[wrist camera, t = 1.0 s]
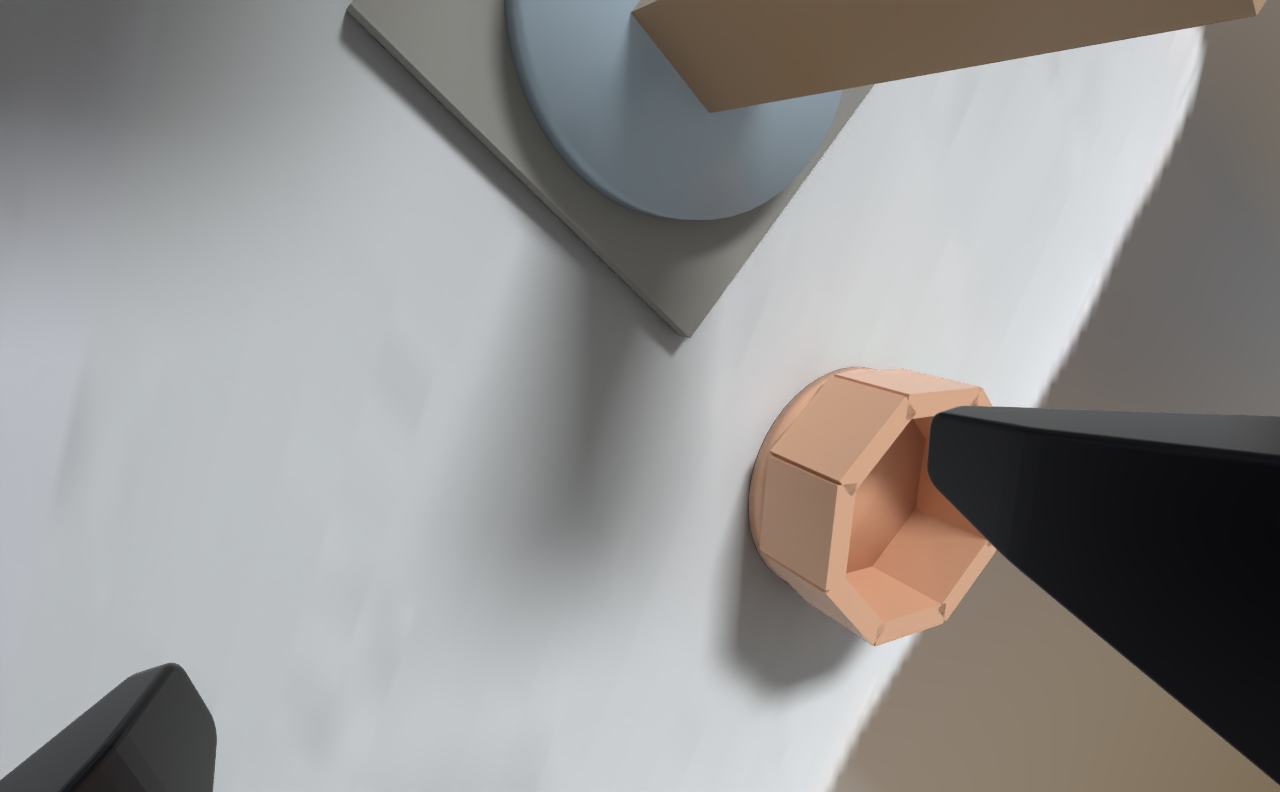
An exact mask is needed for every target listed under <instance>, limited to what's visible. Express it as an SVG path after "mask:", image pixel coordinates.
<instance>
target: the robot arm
mask: <svg viewBox="0 0 1280 792" xmlns="http://www.w3.org/2000/svg"><path fill="white" fill-rule="evenodd" d="M927 470H928V475H929V477H930V480H931V482H932V483H933V485H934V486H935V488H936V489H937V490H938V491H939V492H940V493H941V494H942V495H943V496H944V497H945V498H946V499H947V500H948V501H949V502H950V503H951V504H952V505H953V506H954V507H955V508H956V509H957V510H958V511H959V512H960V513H961V514H962V515H963V516H964V517H965V518H966V519H967V520H968V521H969V522H970V523H971V524H972V525H973V526H974V527H975V528H976V529H977V530H978V531H979V532H980V533H981V534H982V535H983V536H984V537H985V538H986V539H987V540H988V541H989V542H990V543H991V544H992V545H993V546H994V547H995V548H996V549H997V550H998V551H999V552H1000V553H1001V554H1002V555H1003V556H1004V557H1005V558H1006V559H1007V560H1008V561H1010V563H1012V564H1013V565H1014V566H1015V567H1016V568H1017V569H1019V570H1020V571H1021V572H1022V573H1023V574H1024V575H1026V576H1027V577H1028V578H1029V579H1030V580H1032V581H1033V582H1034V583H1035V584H1037V585H1038V586H1039V587H1040V588H1041V589H1043V590H1044V591H1045V592H1046V593H1048V594H1049V595H1050V596H1051V597H1052V598H1054V599H1055V600H1056V601H1057V602H1058V603H1060V604H1061V605H1062V606H1063V607H1064V608H1066V609H1067V610H1068V611H1069V612H1070V613H1072V614H1073V615H1074V616H1075V617H1076V618H1078V619H1079V620H1080V621H1081V622H1083V623H1084V624H1085V625H1086V626H1087V627H1089V628H1090V629H1091V630H1092V631H1093V632H1095V633H1096V634H1097V635H1098V636H1100V637H1101V638H1102V639H1103V640H1104V641H1106V642H1107V643H1108V644H1109V645H1110V646H1112V647H1113V648H1114V649H1115V650H1116V651H1118V652H1119V653H1120V654H1121V655H1122V656H1124V657H1125V658H1126V659H1127V660H1129V661H1130V662H1131V663H1132V664H1133V665H1135V666H1136V667H1137V668H1138V669H1139V670H1141V671H1142V672H1143V673H1144V674H1145V675H1147V676H1148V677H1149V678H1150V679H1152V680H1153V681H1154V682H1155V683H1156V684H1158V685H1159V686H1160V687H1161V688H1163V689H1164V690H1165V691H1166V692H1167V693H1168V694H1170V695H1171V696H1172V697H1173V698H1174V699H1176V700H1177V701H1178V702H1179V703H1181V704H1182V705H1183V706H1184V707H1185V708H1187V709H1188V710H1189V711H1190V712H1192V713H1193V714H1194V715H1195V716H1196V717H1197V718H1199V719H1200V720H1201V721H1202V722H1204V723H1205V724H1206V725H1207V726H1209V727H1210V728H1211V729H1212V730H1213V731H1214V732H1216V733H1217V734H1218V735H1219V736H1220V737H1222V738H1223V739H1224V740H1225V741H1226V742H1228V743H1229V744H1230V745H1231V746H1233V747H1234V748H1235V749H1236V750H1237V751H1239V752H1240V753H1241V754H1242V755H1243V756H1245V757H1246V758H1247V759H1248V760H1249V761H1251V762H1252V763H1253V764H1254V765H1256V766H1257V767H1258V768H1259V769H1260V770H1262V771H1263V772H1264V773H1265V774H1266V775H1268V776H1269V777H1270V778H1271V779H1273V780H1274V781H1275V782H1276V783H1277V784H1279V785H1280V417H1277V416H1247V415H1220V414H1191V413H1163V412H1134V411H1105V410H1076V409H1048V408H1019V407H991V406H957V407H954V408H951V409H948V410H945V411H942V412H939V413H937V414H936V415H935V416H934V417H933V418H932V420H931V422H930V431H929V444H928V457H927ZM216 746H217V735H216V728H215V723H214V720H213V717H212V715H211V713H210V711H209V710H208V708H207V706H206V705H205V703H204V701H203V700H202V698H201V696H200V695H199V693H198V691H197V690H196V688H195V687H194V685H193V683H192V682H191V680H190V678H189V677H188V675H187V673H186V672H185V670H184V669H183V668H182V667H181V666H180V665H178V664H175V663H167V664H164V665H161V666H158V667H154V668H151V669H148V670H145V671H142V672H139V673H136V674H134V675H132V676H130V677H128V678H127V679H126V680H124V681H123V682H122V683H121V684H119V685H118V686H117V687H116V688H114V689H113V690H112V691H111V692H109V693H108V694H107V695H106V696H104V697H103V698H102V699H101V700H100V701H98V702H97V703H96V704H95V705H93V706H92V707H91V708H90V709H88V710H87V711H86V712H85V713H83V714H82V715H81V716H80V717H78V718H77V719H76V720H75V721H73V722H72V723H71V724H70V725H68V726H67V727H66V728H65V729H63V730H62V731H61V732H60V733H59V734H57V735H56V736H55V737H54V738H52V739H51V740H50V741H49V742H47V743H46V744H45V745H44V746H42V747H41V748H40V749H39V750H37V751H36V752H35V753H34V754H32V755H31V756H30V757H29V758H27V759H26V760H25V761H24V762H22V763H21V764H20V765H19V766H17V767H16V768H15V769H14V770H13V771H11V772H10V773H9V774H8V775H6V776H5V777H4V778H3V779H1V780H0V792H213V784H214V771H215V758H216Z"/></svg>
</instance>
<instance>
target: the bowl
mask: <svg viewBox="0 0 1280 792" xmlns="http://www.w3.org/2000/svg"><path fill="white" fill-rule="evenodd" d="M957 406H991V407H992V405H991V403H990V401H989V399H988V398H987V396H986V394H985V392H984V390H983V388H980V387H978V386H974V385H970V384H965V383H961V382H957V381H953V380H949V379H944V378H940V377H936V376H932V375H927V374H923V373H919V372H915V371H911V370H906V369H891V370H875V369H870V368H865V367H849V368H843V369H839V370H836V371H833V372H830V373H828V374H826V375H824V376H822V377H820V378H818V379H817V380H815V381H814V382H812V383H811V384H809V385H808V386H806V387H805V388H804V389H803V390H802V391H801V392H799V393H798V394H797V395H796V396H795V397H794V398H793V399H792V400H791V401H790V402H789V404H788V405H787V406H786V407H785V408H784V409H783V411H782V412H781V414H780V415H779V416H778V418H777V419H776V420H775V422H774V424H773V425H772V427H771V429H770V430H769V432H768V434H767V436H766V438H765V440H764V442H763V445H762V447H761V449H760V452H759V454H758V457H757V460H756V463H755V466H754V470H753V475H752V479H751V485H750V492H749V521H750V528H751V533H752V537H753V540H754V543H755V546H756V548H757V551H758V552H759V554H760V556H761V558H762V560H763V561H764V562H765V564H766V565H767V566H768V567H769V569H770V570H771V571H773V572H774V573H775V574H776V575H777V576H779V577H780V578H782V579H783V580H785V581H786V582H788V583H789V584H790V585H791V586H792V587H793V588H794V589H795V590H796V591H797V593H798V594H799V595H800V596H801V597H802V598H803V599H804V600H805V601H806V602H807V603H809V604H810V605H812V606H813V607H815V608H816V609H818V610H819V611H821V612H822V613H824V614H825V615H827V616H828V617H830V618H831V619H833V620H834V621H836V622H837V623H839V624H840V625H842V626H843V627H845V628H846V629H848V630H850V631H851V632H853V633H854V634H856V635H857V636H859V637H860V638H862V639H863V640H865V641H866V642H868V643H869V644H871V645H872V646H873V645H874V646H878V645H881V644H884V643H887V642H890V641H893V640H896V639H899V638H901V637H904V636H907V635H910V634H913V633H916V632H919V631H922V630H925V629H928V628H931V627H934V626H937V625H939V624H942V623H943V621H944V620H945V621H946V620H947V619H948V617H949V616H950V615H951V613H952V612H953V610H954V609H955V608H956V606H957V605H958V603H959V602H960V601H961V599H962V598H963V596H964V595H965V593H966V592H967V591H968V589H969V588H970V587H971V585H972V584H973V582H974V581H975V580H976V578H977V577H978V575H979V574H980V573H981V571H982V570H983V568H984V567H985V566H986V564H987V563H988V561H989V560H990V559H991V557H992V556H993V554H994V553H995V552H996V550H997V549H996V548H995V547H994V546H993V545H992V544H991V543H990V542H989V541H988V540H987V539H986V538H985V537H984V536H983V535H982V534H981V533H980V532H979V531H978V530H977V529H976V528H975V527H974V526H973V525H972V524H971V523H970V522H969V521H968V520H967V519H966V518H965V517H964V516H963V515H962V514H961V513H960V512H959V511H958V510H957V509H956V508H955V507H954V506H953V505H952V504H951V503H950V502H949V501H948V500H947V499H946V498H945V497H944V496H943V495H942V494H941V493H940V492H939V491H938V490H937V489H936V488H935V486H934V485H933V483H932V482H931V480H930V477H929V475H928V470H927V457H928V444H929V431H930V422H931V420H932V418H933V417H934V416H935V415H936V414H937V413H939V412H942V411H945V410H948V409H951V408H954V407H957Z"/></svg>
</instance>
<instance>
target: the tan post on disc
mask: <svg viewBox="0 0 1280 792" xmlns="http://www.w3.org/2000/svg"><path fill="white" fill-rule="evenodd" d="M1265 2H1266V0H505V17H506V24H507V31H508V38H509V45H510V49H511V53H512V57H513V61H514V65H515V69H516V73H517V76H518V79H519V81H520V84H521V87H522V89H523V92H524V95H525V97H526V100H527V102H528V104H529V106H530V108H531V110H532V112H533V114H534V116H535V118H536V120H537V122H538V124H539V126H540V128H541V129H542V131H543V132H544V134H545V135H546V137H547V138H548V140H549V141H550V143H551V144H552V146H553V147H554V149H555V150H556V151H557V153H558V154H559V155H560V156H561V157H562V159H563V160H564V161H565V162H566V163H567V164H568V166H569V167H570V168H571V169H572V170H573V171H574V172H575V173H576V174H577V175H578V176H579V177H581V178H582V179H583V180H584V181H585V182H586V183H587V184H588V185H589V186H591V187H592V188H593V189H595V190H596V191H598V192H599V193H601V194H602V195H604V196H605V197H606V198H608V199H609V200H611V201H613V202H615V203H617V204H619V205H621V206H623V207H625V208H627V209H630V210H633V211H636V212H639V213H642V214H645V215H648V216H653V217H659V218H665V219H684V220H714V219H720V218H726V217H732V216H735V215H738V214H741V213H744V212H747V211H750V210H752V209H753V208H755V207H757V206H759V205H761V204H763V203H765V202H767V201H768V200H770V199H771V198H773V197H774V196H775V195H777V194H778V193H780V192H781V191H782V190H784V189H785V188H786V187H787V186H788V185H789V184H790V183H791V182H792V181H793V180H794V179H795V178H796V177H797V176H798V175H799V174H800V173H801V171H802V170H803V169H804V168H805V167H806V165H807V164H808V163H809V162H810V160H811V159H812V157H813V156H814V154H815V153H816V151H817V149H818V148H819V146H820V145H821V143H822V141H823V139H824V137H825V135H826V133H827V131H828V129H829V127H830V125H831V123H832V121H833V118H834V115H835V113H836V110H837V107H838V105H839V102H840V98H841V95H842V91H843V89H849V88H854V87H860V86H866V85H871V84H877V83H882V82H888V81H894V80H899V79H905V78H911V77H916V76H922V75H927V74H933V73H939V72H944V71H950V70H956V69H961V68H967V67H972V66H978V65H984V64H989V63H995V62H1000V61H1006V60H1012V59H1017V58H1023V57H1029V56H1034V55H1040V54H1045V53H1051V52H1057V51H1062V50H1068V49H1074V48H1079V47H1085V46H1090V45H1096V44H1102V43H1107V42H1113V41H1119V40H1124V39H1130V38H1135V37H1141V36H1147V35H1152V34H1158V33H1164V32H1169V31H1175V30H1180V29H1186V28H1192V27H1197V26H1203V25H1208V24H1214V23H1219V22H1225V21H1231V20H1236V19H1242V18H1247V17H1253V16H1257V14H1258V13H1259V11H1260V10H1261V8H1262V7H1263V5H1264V3H1265Z"/></svg>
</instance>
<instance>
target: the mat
mask: <svg viewBox="0 0 1280 792" xmlns="http://www.w3.org/2000/svg"><path fill="white" fill-rule="evenodd" d="M346 10H347V11H348V12H349V13H350V14H351V15H352V16H353V17H354V18H355V19H356V20H357V21H358V22H359V23H360V24H361V25H362V26H363V27H364V28H365V29H366V30H367V31H368V32H369V33H370V34H371V35H372V36H373V37H374V38H375V39H376V40H377V41H378V42H379V43H380V44H381V45H382V46H383V47H384V48H385V49H386V50H388V51H389V52H390V53H391V54H392V55H393V56H394V57H395V58H396V59H397V60H398V61H399V62H400V63H401V64H402V65H403V66H404V67H405V68H406V69H407V70H408V71H409V72H410V73H411V74H412V75H413V76H414V77H415V78H416V79H417V80H418V81H419V82H420V83H421V84H422V85H423V86H424V87H425V88H426V89H427V90H428V91H430V92H431V93H432V94H433V95H434V96H435V97H436V98H437V99H438V100H439V101H440V102H441V103H442V104H443V105H444V106H445V107H446V108H447V109H448V110H449V111H450V112H451V113H452V114H453V115H454V116H455V117H456V118H457V119H458V120H459V121H460V122H461V123H462V124H463V125H464V126H465V127H466V128H467V129H468V130H469V131H471V132H472V133H473V134H474V135H475V136H476V137H477V138H478V139H479V140H480V141H481V142H482V143H483V144H484V145H485V146H486V147H487V148H488V149H489V150H490V151H491V152H492V153H493V154H494V155H495V156H496V157H497V158H498V159H499V160H500V161H501V162H502V163H503V164H504V165H505V166H506V167H507V168H508V169H509V170H510V171H512V172H513V173H514V174H515V175H516V176H517V177H518V178H519V179H520V180H521V181H522V182H523V183H524V184H525V185H526V186H527V187H528V188H529V189H530V190H531V191H532V192H533V193H534V194H535V195H536V196H537V197H538V198H539V199H540V200H541V201H542V202H543V203H544V204H545V205H546V206H547V207H548V208H549V209H550V210H551V211H552V212H554V213H555V214H556V215H557V216H558V217H559V218H560V219H561V220H562V221H563V222H564V223H565V224H566V225H567V226H568V227H569V228H570V229H571V230H572V231H573V232H574V233H575V234H576V235H577V236H578V237H579V238H580V239H581V240H582V241H583V242H584V243H585V244H586V245H587V246H588V247H589V248H590V249H591V250H592V251H593V252H595V253H596V254H597V255H598V256H599V257H600V258H601V259H602V260H603V261H604V262H605V263H606V264H607V265H608V266H609V267H610V268H611V269H612V270H613V271H614V272H615V273H616V274H617V275H618V276H619V277H620V278H621V279H622V280H623V281H624V282H625V283H626V284H627V285H628V286H629V287H630V288H631V289H632V290H633V291H634V292H635V293H637V294H638V295H639V296H640V297H641V298H642V299H643V300H644V301H645V302H646V303H647V304H648V305H649V306H650V307H651V308H652V309H653V310H654V311H655V312H656V313H657V314H658V315H659V316H660V317H661V318H662V319H663V320H664V321H665V322H666V323H667V324H668V325H669V326H670V327H671V328H672V329H673V330H674V331H675V332H676V333H678V334H679V335H680V336H684V337H688V338H690V337H691V336H692V335H693V333H694V332H695V331H696V329H697V328H698V326H699V325H700V324H701V322H702V321H703V320H704V318H705V317H706V315H707V314H708V313H709V311H710V310H711V309H712V307H713V306H714V304H715V303H716V302H717V300H718V299H719V297H720V296H721V295H722V293H723V292H724V291H725V289H726V288H727V286H728V285H729V284H730V282H731V281H732V280H733V278H734V277H735V275H736V274H737V273H738V271H739V270H740V269H741V267H742V266H743V264H744V263H745V262H746V260H747V259H748V258H749V256H750V255H751V253H752V252H753V251H754V249H755V248H756V246H757V245H758V244H759V242H760V241H761V240H762V238H763V237H764V235H765V234H766V233H767V231H768V230H769V229H770V227H771V226H772V224H773V223H774V222H775V220H776V219H777V218H778V216H779V215H780V213H781V212H782V211H783V209H784V208H785V206H786V205H787V204H788V202H789V201H790V200H791V198H792V197H793V195H794V194H795V193H796V191H797V190H798V189H799V187H800V186H801V184H802V183H803V182H804V180H805V179H806V178H807V176H808V175H809V173H810V172H811V171H812V169H813V168H814V167H815V165H816V164H817V162H818V161H819V160H820V158H821V157H822V155H823V154H824V153H825V151H826V150H827V149H828V147H829V146H830V144H831V143H832V142H833V140H834V139H835V138H836V136H837V135H838V133H839V132H840V131H841V129H842V128H843V127H844V125H845V124H846V122H847V121H848V120H849V118H850V117H851V116H852V114H853V113H854V111H855V110H856V109H857V107H858V106H859V104H860V103H861V102H862V100H863V99H864V98H865V96H866V95H867V93H868V92H869V91H870V89H871V88H872V87H873V85H874V84H871V85H866V86H860V87H854V88H849V89H843V91H842V95H841V98H840V102H839V105H838V107H837V110H836V113H835V115H834V118H833V121H832V123H831V125H830V127H829V129H828V131H827V133H826V135H825V137H824V139H823V141H822V143H821V145H820V146H819V148H818V149H817V151H816V153H815V154H814V156H813V157H812V159H811V160H810V162H809V163H808V164H807V165H806V167H805V168H804V169H803V170H802V171H801V173H800V174H799V175H798V176H797V177H796V178H795V179H794V180H793V181H792V182H791V183H790V184H789V185H788V186H787V187H786V188H785V189H784V190H782V191H781V192H780V193H778V194H777V195H775V196H774V197H773V198H771V199H770V200H768V201H767V202H765V203H763V204H761V205H759V206H757V207H755V208H753V209H752V210H750V211H747V212H744V213H741V214H738V215H735V216H732V217H726V218H720V219H714V220H684V219H665V218H659V217H653V216H648V215H645V214H642V213H639V212H636V211H633V210H630V209H627V208H625V207H623V206H621V205H619V204H617V203H615V202H613V201H611V200H609V199H608V198H606V197H605V196H604V195H602V194H601V193H599V192H598V191H596V190H595V189H593V188H592V187H591V186H589V185H588V184H587V183H586V182H585V181H584V180H583V179H582V178H581V177H579V176H578V175H577V174H576V173H575V172H574V171H573V170H572V169H571V168H570V167H569V166H568V164H567V163H566V162H565V161H564V160H563V159H562V157H561V156H560V155H559V154H558V153H557V151H556V150H555V149H554V147H553V146H552V144H551V143H550V141H549V140H548V138H547V137H546V135H545V134H544V132H543V131H542V129H541V128H540V126H539V124H538V122H537V120H536V118H535V116H534V114H533V112H532V110H531V108H530V106H529V104H528V102H527V100H526V97H525V95H524V92H523V89H522V87H521V84H520V81H519V79H518V76H517V73H516V69H515V65H514V61H513V57H512V53H511V49H510V45H509V38H508V31H507V24H506V17H505V0H353V2H352V3H351V4H350V5H349V7H348V8H347V9H346Z"/></svg>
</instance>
